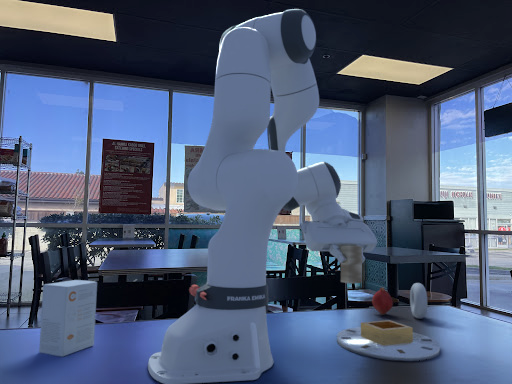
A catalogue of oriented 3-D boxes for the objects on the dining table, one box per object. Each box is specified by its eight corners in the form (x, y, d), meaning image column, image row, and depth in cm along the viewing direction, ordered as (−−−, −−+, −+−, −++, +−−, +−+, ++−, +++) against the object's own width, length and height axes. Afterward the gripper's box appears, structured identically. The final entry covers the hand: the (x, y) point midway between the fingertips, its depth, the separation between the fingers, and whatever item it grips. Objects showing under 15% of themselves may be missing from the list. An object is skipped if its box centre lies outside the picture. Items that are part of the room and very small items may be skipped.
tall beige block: (348, 283, 95) (348, 246, 96) (340, 281, 98) (340, 245, 99) (361, 283, 97) (361, 246, 98) (353, 281, 100) (353, 245, 101)
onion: (371, 312, 119) (370, 285, 120) (390, 313, 118) (390, 286, 119) (373, 316, 113) (373, 288, 114) (394, 317, 112) (394, 289, 113)
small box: (71, 341, 83) (75, 279, 84) (94, 345, 80) (98, 281, 82) (37, 352, 75) (42, 283, 76) (62, 357, 73) (66, 286, 74)
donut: (429, 322, 107) (428, 285, 108) (415, 321, 107) (415, 284, 108) (421, 315, 116) (420, 280, 117) (409, 314, 117) (408, 280, 118)
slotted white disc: (379, 366, 72) (379, 342, 72) (319, 336, 91) (319, 317, 91) (463, 354, 79) (462, 333, 80) (391, 329, 99) (390, 312, 99)
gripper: (302, 212, 101) (322, 252, 92) (366, 215, 109) (391, 253, 99) (293, 229, 105) (311, 270, 95) (356, 231, 113) (379, 269, 103)
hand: (352, 261), depth 97 cm, fingers closed on tall beige block, 4 cm apart
